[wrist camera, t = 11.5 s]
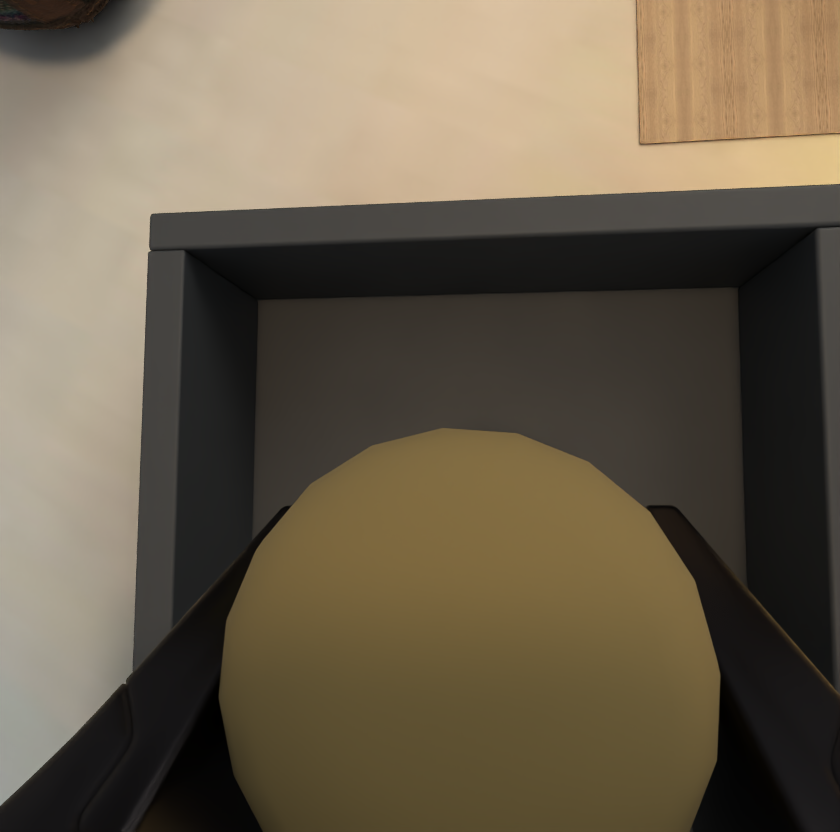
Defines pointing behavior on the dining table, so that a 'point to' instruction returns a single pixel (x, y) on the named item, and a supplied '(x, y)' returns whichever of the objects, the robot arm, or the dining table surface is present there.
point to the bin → (503, 368)
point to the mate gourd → (47, 13)
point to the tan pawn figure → (469, 651)
